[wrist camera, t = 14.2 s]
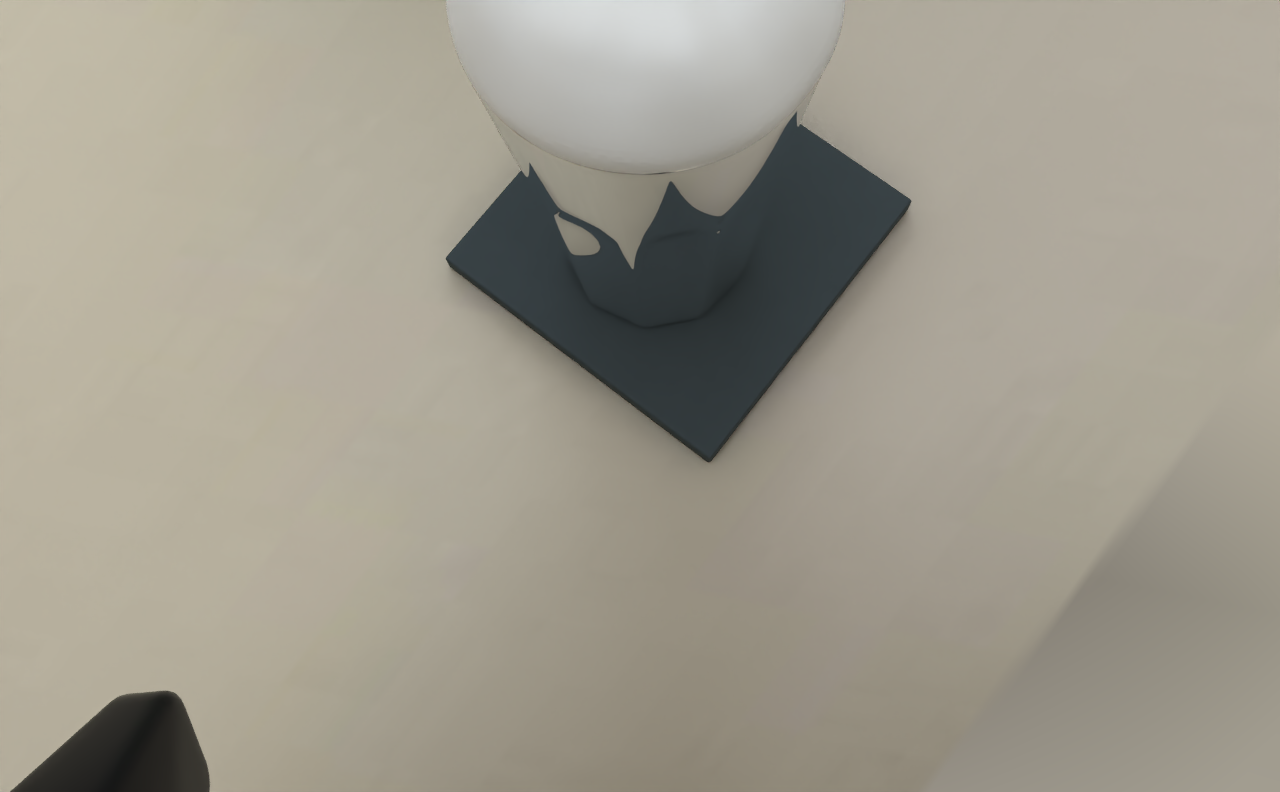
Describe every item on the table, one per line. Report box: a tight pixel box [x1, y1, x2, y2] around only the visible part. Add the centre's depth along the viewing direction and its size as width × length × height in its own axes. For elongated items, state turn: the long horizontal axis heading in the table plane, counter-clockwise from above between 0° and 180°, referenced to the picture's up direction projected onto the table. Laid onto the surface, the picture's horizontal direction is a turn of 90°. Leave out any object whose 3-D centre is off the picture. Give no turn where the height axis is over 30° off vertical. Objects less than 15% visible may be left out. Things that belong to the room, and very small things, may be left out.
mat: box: [446, 124, 911, 462], centre depth 22 cm, size 6×6×1 cm
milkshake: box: [446, 0, 845, 328], centre depth 17 cm, size 4×5×10 cm
